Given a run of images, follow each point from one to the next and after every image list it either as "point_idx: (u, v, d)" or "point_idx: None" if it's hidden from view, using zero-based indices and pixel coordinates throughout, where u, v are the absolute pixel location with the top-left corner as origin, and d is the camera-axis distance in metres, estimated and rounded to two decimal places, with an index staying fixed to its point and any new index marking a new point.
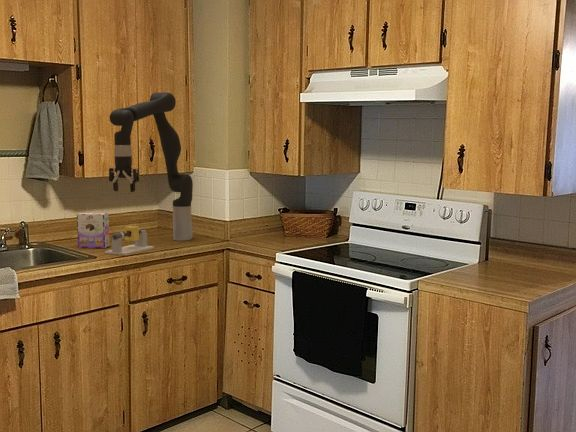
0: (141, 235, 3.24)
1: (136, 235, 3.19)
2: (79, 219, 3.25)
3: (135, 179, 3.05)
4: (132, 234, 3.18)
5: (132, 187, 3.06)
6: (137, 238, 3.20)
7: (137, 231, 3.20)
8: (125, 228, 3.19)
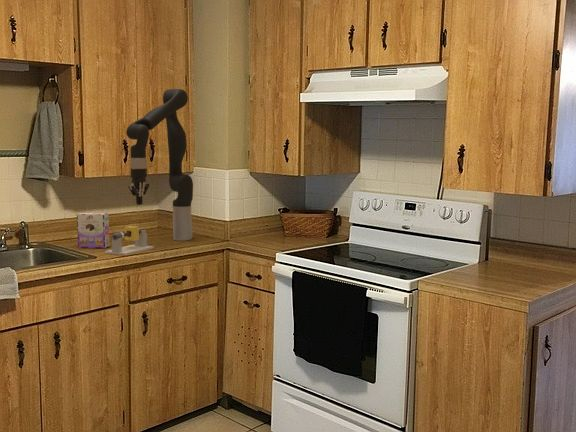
0: (141, 235, 3.24)
1: (136, 235, 3.19)
2: (79, 219, 3.25)
3: (145, 192, 3.25)
4: (132, 234, 3.18)
5: (141, 200, 3.24)
6: (137, 238, 3.20)
7: (137, 231, 3.20)
8: (125, 228, 3.19)
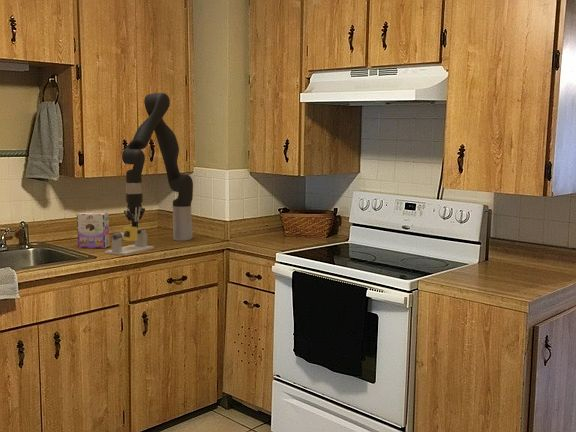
0: (141, 235, 3.24)
1: (134, 235, 3.18)
2: (79, 219, 3.25)
3: (140, 216, 3.24)
4: (130, 234, 3.17)
5: None
6: (135, 238, 3.19)
7: (135, 231, 3.19)
8: (123, 228, 3.18)
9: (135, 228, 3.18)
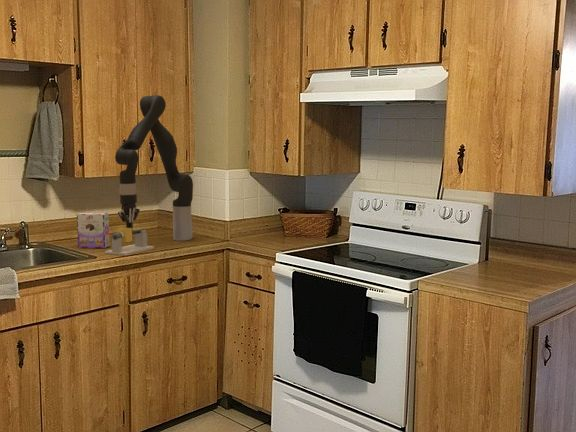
0: (141, 235, 3.24)
1: (129, 237, 3.15)
2: (79, 219, 3.25)
3: (135, 217, 3.20)
4: (125, 236, 3.13)
5: (132, 225, 3.19)
6: (129, 240, 3.15)
7: (130, 232, 3.15)
8: (118, 229, 3.15)
9: (129, 229, 3.15)
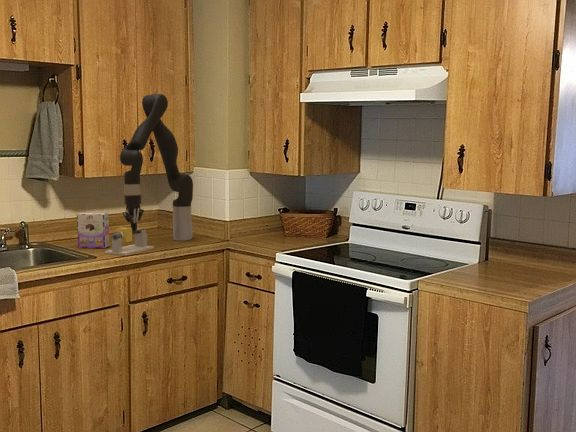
0: (141, 235, 3.24)
1: (129, 237, 3.15)
2: (79, 219, 3.25)
3: (139, 218, 3.23)
4: (125, 235, 3.13)
5: None
6: (130, 240, 3.16)
7: (130, 232, 3.16)
8: (118, 229, 3.15)
9: (130, 229, 3.15)
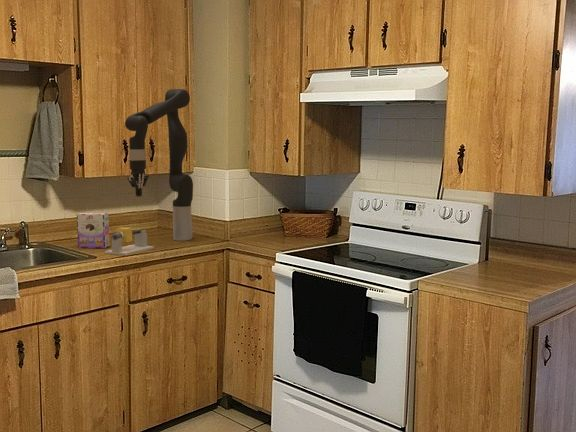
0: (141, 235, 3.24)
1: (129, 237, 3.15)
2: (79, 219, 3.25)
3: (144, 183, 3.24)
4: (125, 235, 3.13)
5: None
6: (130, 240, 3.16)
7: (130, 232, 3.16)
8: (118, 229, 3.15)
9: (130, 229, 3.15)
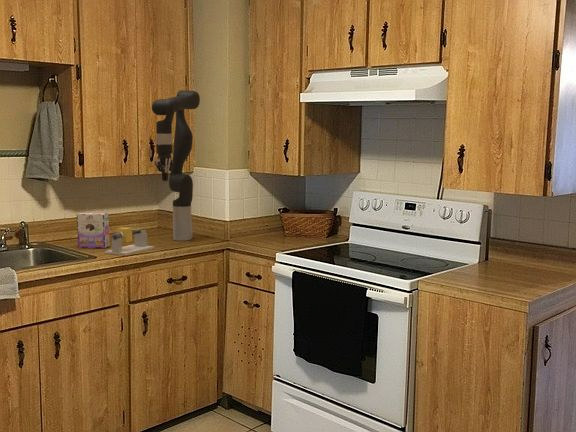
0: (141, 235, 3.24)
1: (129, 237, 3.15)
2: (79, 219, 3.25)
3: (170, 168, 3.24)
4: (125, 235, 3.13)
5: (167, 176, 3.23)
6: (130, 240, 3.16)
7: (130, 232, 3.16)
8: (118, 229, 3.15)
9: (130, 229, 3.15)
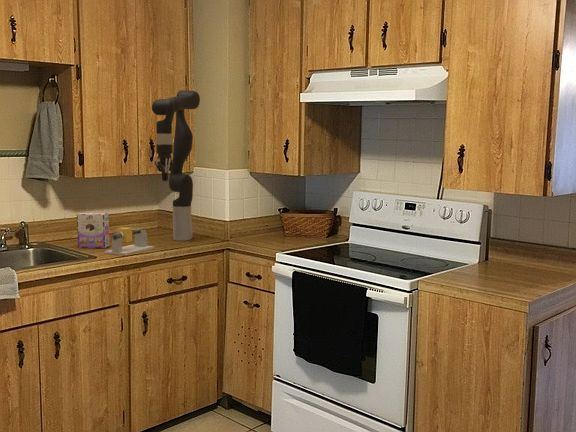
0: (141, 235, 3.24)
1: (129, 237, 3.15)
2: (79, 219, 3.25)
3: (170, 168, 3.24)
4: (125, 235, 3.13)
5: (167, 176, 3.23)
6: (130, 240, 3.16)
7: (130, 232, 3.16)
8: (118, 229, 3.15)
9: (130, 229, 3.15)
